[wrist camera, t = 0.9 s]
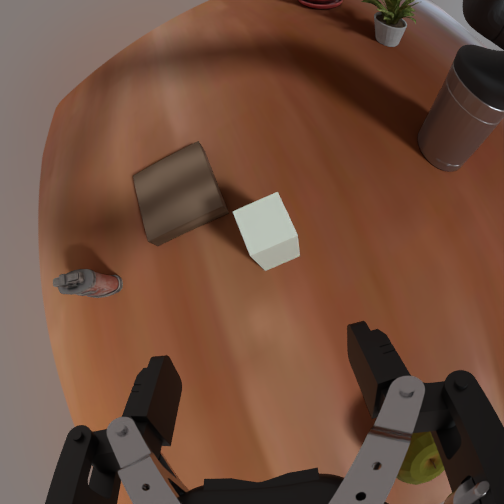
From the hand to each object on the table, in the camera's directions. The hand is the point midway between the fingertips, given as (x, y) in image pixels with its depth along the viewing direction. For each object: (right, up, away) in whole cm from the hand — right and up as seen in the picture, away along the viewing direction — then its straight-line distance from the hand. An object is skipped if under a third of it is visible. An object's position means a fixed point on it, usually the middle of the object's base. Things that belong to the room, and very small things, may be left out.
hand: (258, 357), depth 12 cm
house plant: (+30, +51, +32) cm, 67 cm away
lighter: (-25, -1, +31) cm, 40 cm away
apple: (+23, -22, +18) cm, 36 cm away
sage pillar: (+3, +5, +27) cm, 28 cm away
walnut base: (-11, +13, +31) cm, 36 cm away
